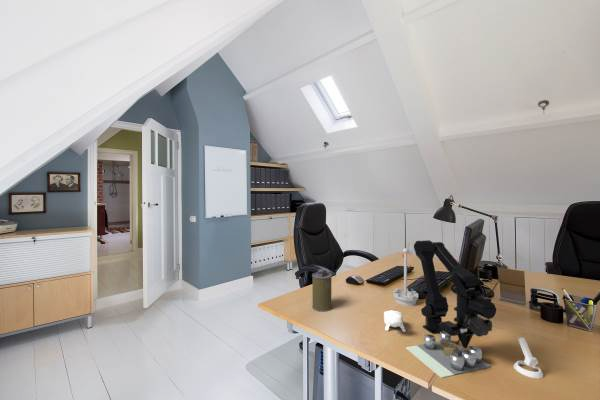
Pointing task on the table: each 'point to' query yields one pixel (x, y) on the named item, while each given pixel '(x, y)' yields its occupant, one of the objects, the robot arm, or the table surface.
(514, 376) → the table surface
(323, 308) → the canister
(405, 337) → the table surface
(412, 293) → the flag stand
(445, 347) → the faceted tan block
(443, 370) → the mat
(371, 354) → the table surface
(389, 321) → the white footed lump
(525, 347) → the white vr controller
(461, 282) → the robot arm
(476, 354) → the spacers
